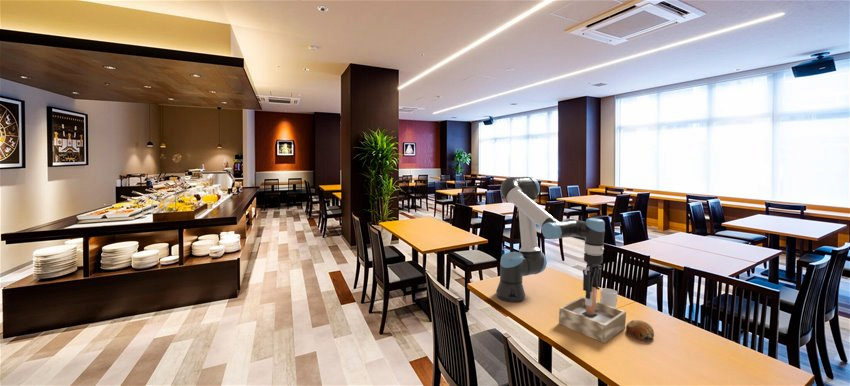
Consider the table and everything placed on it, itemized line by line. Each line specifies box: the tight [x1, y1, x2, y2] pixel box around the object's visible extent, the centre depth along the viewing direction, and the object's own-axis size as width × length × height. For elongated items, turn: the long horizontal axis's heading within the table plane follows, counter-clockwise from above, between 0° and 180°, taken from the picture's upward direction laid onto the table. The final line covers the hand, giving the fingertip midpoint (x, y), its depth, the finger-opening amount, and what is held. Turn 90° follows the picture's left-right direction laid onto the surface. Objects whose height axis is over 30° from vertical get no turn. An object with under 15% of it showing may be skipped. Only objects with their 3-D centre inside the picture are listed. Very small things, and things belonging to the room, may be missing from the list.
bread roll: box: [625, 319, 655, 342], centre depth 142 cm, size 10×10×8 cm
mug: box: [599, 287, 618, 308], centre depth 160 cm, size 10×7×12 cm, turn 116°
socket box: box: [558, 296, 627, 344], centre depth 149 cm, size 20×20×8 cm
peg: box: [586, 286, 597, 315], centre depth 151 cm, size 4×4×12 cm
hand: (590, 303), depth 151 cm, fingers closed on peg, 3 cm apart
